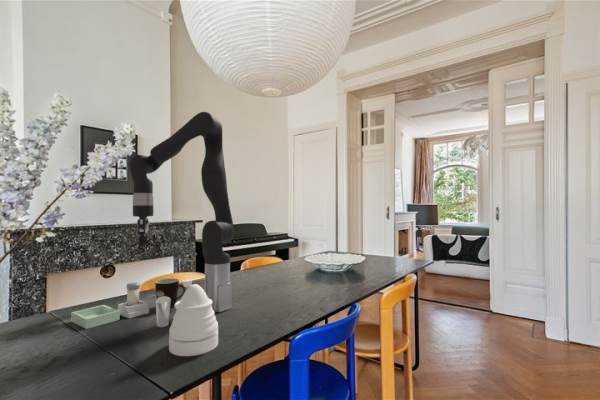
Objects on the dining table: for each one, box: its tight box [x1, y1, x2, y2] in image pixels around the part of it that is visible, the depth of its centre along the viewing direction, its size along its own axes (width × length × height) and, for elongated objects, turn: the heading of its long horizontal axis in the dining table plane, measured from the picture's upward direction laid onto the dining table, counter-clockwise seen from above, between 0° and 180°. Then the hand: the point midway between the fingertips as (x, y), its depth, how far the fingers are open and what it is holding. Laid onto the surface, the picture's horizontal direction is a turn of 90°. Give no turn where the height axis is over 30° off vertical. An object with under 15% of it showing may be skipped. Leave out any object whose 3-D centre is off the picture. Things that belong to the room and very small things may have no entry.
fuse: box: [126, 282, 141, 307], centre depth 113 cm, size 4×4×9 cm
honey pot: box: [168, 278, 219, 357], centre depth 87 cm, size 13×13×18 cm
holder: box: [116, 299, 150, 319], centre depth 113 cm, size 9×7×4 cm
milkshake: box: [152, 296, 171, 328], centre depth 101 cm, size 4×5×10 cm
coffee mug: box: [154, 277, 186, 310], centre depth 119 cm, size 12×9×10 cm
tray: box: [70, 304, 121, 330], centre depth 106 cm, size 12×10×3 cm
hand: (143, 244), depth 126 cm, fingers open, 8 cm apart
